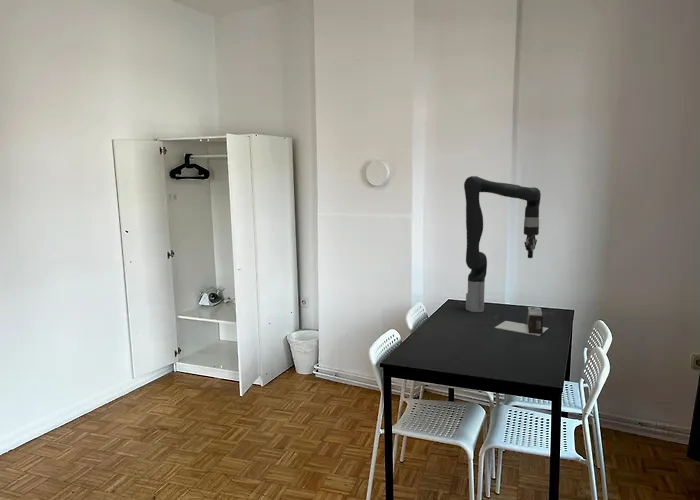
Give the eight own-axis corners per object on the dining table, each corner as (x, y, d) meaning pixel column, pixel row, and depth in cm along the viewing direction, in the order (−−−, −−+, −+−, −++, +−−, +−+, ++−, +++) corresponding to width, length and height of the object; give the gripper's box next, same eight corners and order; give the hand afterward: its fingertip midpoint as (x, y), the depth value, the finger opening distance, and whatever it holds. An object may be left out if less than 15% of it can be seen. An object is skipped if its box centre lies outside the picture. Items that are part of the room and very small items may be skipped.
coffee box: (540, 324, 267) (542, 334, 252) (526, 323, 269) (528, 333, 253) (541, 307, 265) (543, 316, 250) (527, 306, 267) (529, 315, 252)
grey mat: (494, 328, 264) (494, 327, 264) (505, 321, 275) (505, 320, 274) (539, 335, 250) (539, 335, 250) (548, 328, 261) (548, 328, 261)
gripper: (528, 224, 284) (527, 255, 286) (519, 226, 273) (518, 259, 276) (542, 224, 279) (541, 256, 282) (534, 227, 269) (532, 260, 272)
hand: (530, 257), depth 279 cm, fingers closed
